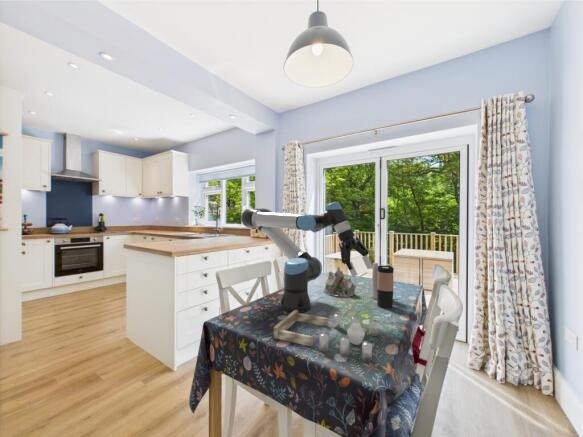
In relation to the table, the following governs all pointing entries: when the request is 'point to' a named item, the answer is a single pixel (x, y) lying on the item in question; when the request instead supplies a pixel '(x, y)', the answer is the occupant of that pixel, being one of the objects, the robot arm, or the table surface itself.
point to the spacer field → (345, 340)
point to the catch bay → (296, 337)
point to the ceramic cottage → (339, 285)
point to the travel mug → (385, 287)
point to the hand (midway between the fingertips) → (362, 272)
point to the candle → (374, 280)
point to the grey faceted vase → (355, 333)
